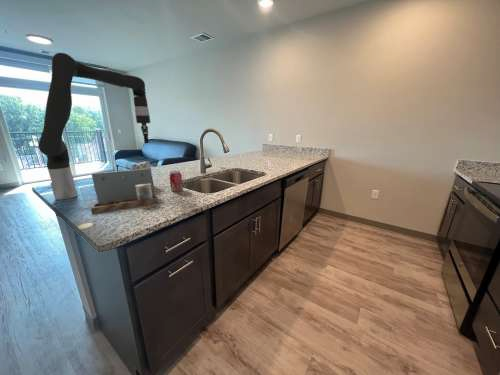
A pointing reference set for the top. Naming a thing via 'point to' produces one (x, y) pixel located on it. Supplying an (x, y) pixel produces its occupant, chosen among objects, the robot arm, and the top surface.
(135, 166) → the candy bar box
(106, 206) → the notched ledge
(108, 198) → the wall panel
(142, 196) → the picture frame
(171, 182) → the soda can
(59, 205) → the top surface
